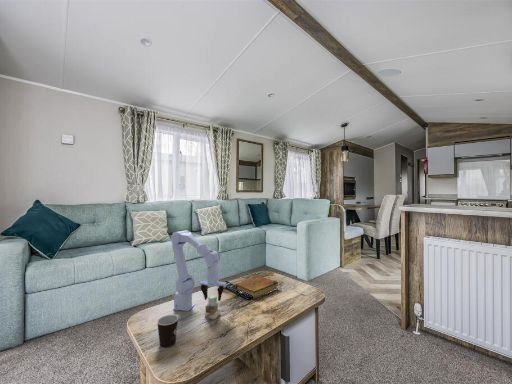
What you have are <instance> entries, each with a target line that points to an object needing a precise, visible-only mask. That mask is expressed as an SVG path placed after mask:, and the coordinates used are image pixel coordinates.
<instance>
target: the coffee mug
mask: <svg viewBox="0 0 512 384" xmlns="http://www.w3.org/2000/svg"><path fill="white" fill-rule="evenodd" d="M156 323H157V325H156V326H157V333H158V339H159V346H160V347H161V348H171V347H172V346H175V344H176V340H177V331H178V323H179V317H178V316H177V314H167V315H164V316H163V315H162V317H161V316H160V317H159V318H158V320H157V321H156Z"/></svg>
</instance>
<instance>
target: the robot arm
mask: <svg viewBox="0 0 512 384" xmlns="http://www.w3.org/2000/svg"><path fill="white" fill-rule="evenodd" d="M170 240H171V245H172V250H173V251H172V252H173V256H174V260H175V265H176V270H177V275H178V276H177V278H176V280H175V290H176V292H175V294H174V297H173V299H174V300H173V310H174V311H184V312H189V311H190V310H191V309H193V307H194V306H195V305H196V304H195V303H193V291H194V288H195V285H196V283H195V280H194V278H193V276H192V275H191V274H189V270H188V266H187V262H186V258H185V254H184V249H183V247H184V245H185V244H186V243H188V244H189V245H191V246H192V247H194V248H195V249H196V253H198V254H199V255H200V256H202V257H203V258H204V261H205V262H206V268H207V269H206V272H207V273H206V276H207V277H206V280H202V281H199V287H200V290H201V292H202V294H203V298H204V300H205V301H206V300H207V299H208V298H209V297H208V294H209V293H208V291H209V287H218V288H217V296H218V297H217V301H218V302H220V301H221V300H222V296H223V292H224V289H225V288H226V287H227V282H224V281H220V280H219V260H220V259H221V254H220V252H219V251H218V250H213V249H212V248H211V247H209V246H208V245H207V244H206V243H201V242H200V241H198V239H197V238H196V237H194V235H192V232H190V230H188V229H185V230H182V231H181V230H180V231H174V232H172V235H171V236H170Z"/></svg>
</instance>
